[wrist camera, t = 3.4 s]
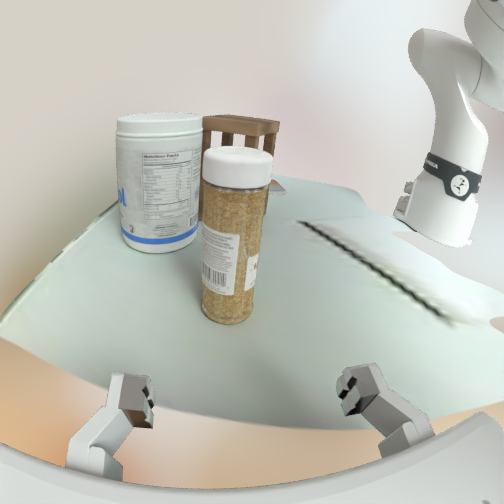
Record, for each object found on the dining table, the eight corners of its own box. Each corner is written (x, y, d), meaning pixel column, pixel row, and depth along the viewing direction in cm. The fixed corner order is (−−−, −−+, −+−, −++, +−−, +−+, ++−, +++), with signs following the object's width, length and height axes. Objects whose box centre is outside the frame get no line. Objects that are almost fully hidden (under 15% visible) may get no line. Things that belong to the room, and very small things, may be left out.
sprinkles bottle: (262, 314, 24) (289, 157, 17) (217, 333, 22) (226, 160, 15) (234, 285, 27) (248, 143, 20) (191, 299, 25) (192, 145, 18)
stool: (220, 201, 45) (227, 114, 37) (267, 213, 42) (279, 121, 35) (192, 219, 38) (196, 117, 31) (245, 234, 36) (257, 123, 29)
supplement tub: (117, 227, 34) (111, 116, 27) (182, 214, 39) (185, 111, 32) (132, 265, 28) (121, 122, 20) (211, 246, 33) (219, 117, 25)
